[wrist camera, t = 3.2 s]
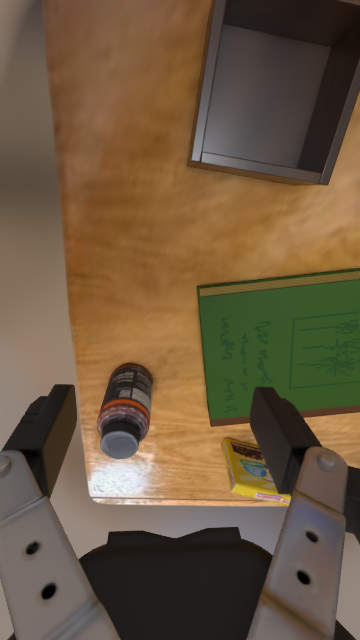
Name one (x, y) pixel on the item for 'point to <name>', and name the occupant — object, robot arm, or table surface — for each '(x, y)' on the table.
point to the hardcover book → (282, 343)
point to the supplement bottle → (125, 411)
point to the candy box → (250, 472)
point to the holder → (276, 88)
